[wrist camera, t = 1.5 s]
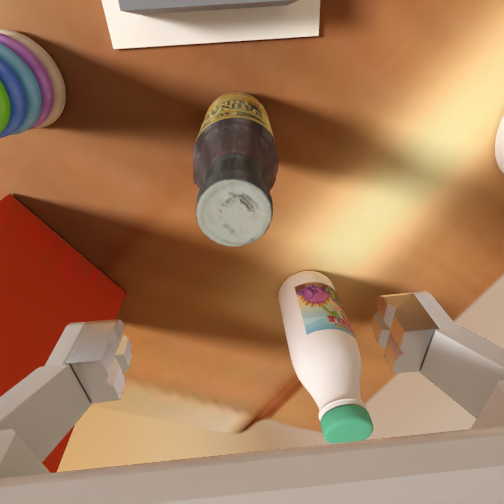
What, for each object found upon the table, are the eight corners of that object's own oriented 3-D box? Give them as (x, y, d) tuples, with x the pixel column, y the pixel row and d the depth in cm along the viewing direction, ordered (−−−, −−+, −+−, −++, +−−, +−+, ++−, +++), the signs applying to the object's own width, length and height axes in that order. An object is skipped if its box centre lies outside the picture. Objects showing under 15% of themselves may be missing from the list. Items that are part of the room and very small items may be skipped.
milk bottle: (306, 318, 49) (348, 463, 33) (266, 296, 47) (289, 443, 30) (343, 285, 46) (409, 426, 30) (303, 259, 43) (350, 400, 27)
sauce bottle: (258, 80, 31) (295, 134, 15) (272, 145, 35) (315, 246, 18) (193, 99, 32) (158, 172, 15) (213, 161, 35) (202, 274, 19)
